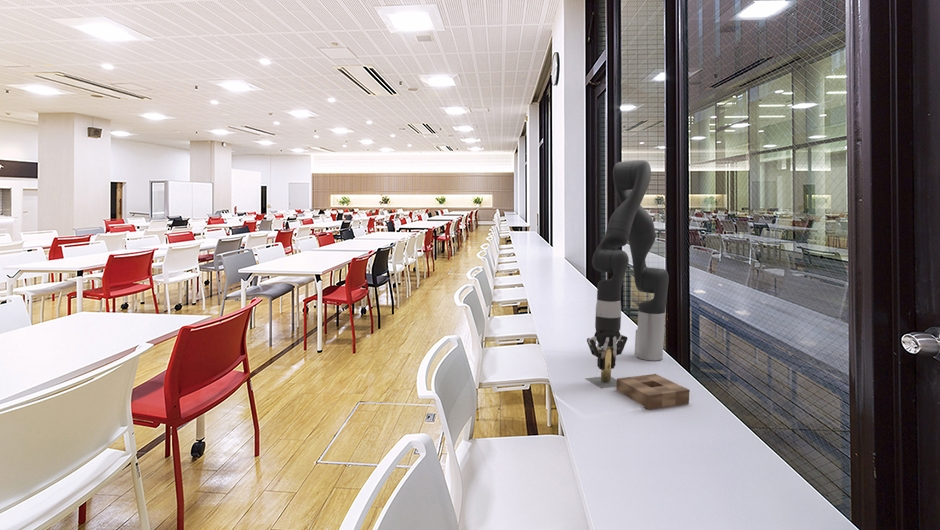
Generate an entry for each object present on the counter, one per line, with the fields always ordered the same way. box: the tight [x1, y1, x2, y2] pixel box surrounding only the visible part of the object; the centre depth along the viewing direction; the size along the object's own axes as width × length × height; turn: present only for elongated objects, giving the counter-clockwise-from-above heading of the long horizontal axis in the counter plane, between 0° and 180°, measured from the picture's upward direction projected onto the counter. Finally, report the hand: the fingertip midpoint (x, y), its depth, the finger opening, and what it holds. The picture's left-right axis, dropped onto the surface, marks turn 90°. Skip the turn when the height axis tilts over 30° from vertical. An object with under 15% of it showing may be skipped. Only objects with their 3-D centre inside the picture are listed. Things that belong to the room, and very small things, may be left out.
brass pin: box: [600, 347, 612, 381], centre depth 151 cm, size 3×3×10 cm
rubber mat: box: [584, 376, 617, 389], centre depth 152 cm, size 9×9×1 cm
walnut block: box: [615, 373, 690, 411], centre depth 141 cm, size 14×14×4 cm
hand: (606, 368), depth 152 cm, fingers closed on brass pin, 3 cm apart
